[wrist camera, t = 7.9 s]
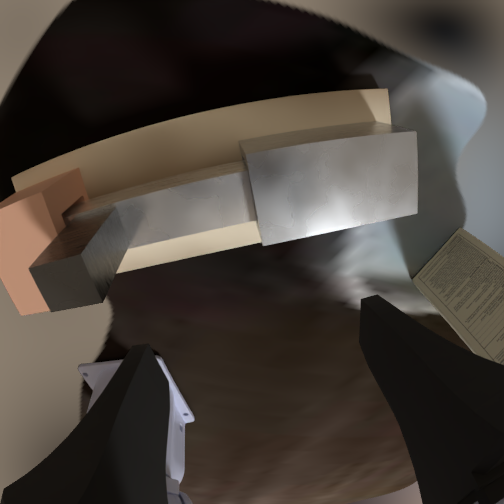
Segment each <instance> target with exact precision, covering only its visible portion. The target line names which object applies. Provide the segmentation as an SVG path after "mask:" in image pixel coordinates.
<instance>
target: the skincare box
mask: <svg viewBox="0 0 504 504" xmlns="http://www.w3.org/2000/svg"><path fill="white" fill-rule="evenodd" d="M412 282H413V283H414V284H415V285H416V287H417V288H418V289H419V290H420V291H421V293H422V294H423V295H424V296H425V297H426V298H427V299H428V301H429V302H430V303H431V304H432V305H433V306H434V307H435V308H436V310H437V311H438V312H439V313H440V314H441V315H442V316H443V318H444V319H445V320H446V321H447V322H448V323H449V324H450V326H451V327H452V328H453V329H454V330H455V331H456V333H457V334H458V335H459V336H460V337H461V339H462V340H463V341H464V342H465V343H466V345H467V346H468V347H469V348H470V349H471V351H472V352H473V353H474V354H476V355H479V356H481V357H483V358H486V359H489V360H491V361H494V362H497V363H500V364H502V365H504V257H503V256H501V255H500V254H498V253H497V252H496V251H494V250H493V249H491V248H490V247H489V246H487V245H486V244H485V243H483V242H482V241H480V240H479V239H477V238H476V237H474V236H472V235H471V234H470V233H468V232H467V231H465V230H464V229H462V228H459V229H458V230H457V231H456V232H455V233H454V234H453V235H452V237H451V238H450V239H449V240H448V241H447V242H446V243H445V244H444V245H443V247H442V248H441V249H440V250H439V251H438V252H437V253H436V254H435V256H434V257H433V258H432V259H431V260H430V261H429V262H428V263H427V264H426V265H425V266H424V267H423V268H422V270H421V271H420V272H419V273H418V274H417V275H416V276H415V277H414V278H413V280H412Z"/></svg>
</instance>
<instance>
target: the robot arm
mask: <svg viewBox="0 0 504 504" xmlns="http://www.w3.org/2000/svg"><path fill="white" fill-rule="evenodd" d="M359 343H360V346H361V348H362V351H363V354H364V356H365V359H366V361H367V364H368V366H369V368H370V370H371V372H372V374H373V376H374V377H375V379H376V381H377V383H378V385H379V387H380V389H381V390H382V392H383V394H384V396H385V398H386V400H387V402H388V403H389V405H390V407H391V409H392V411H393V413H394V415H395V417H396V419H397V421H398V423H399V426H400V429H401V431H402V434H403V437H404V440H405V442H406V445H407V448H408V451H409V454H410V457H411V460H412V463H413V467H414V470H415V474H416V478H417V481H418V485H419V489H420V494H421V498H422V503H423V504H504V365H502V364H500V363H497V362H494V361H491V360H489V359H486V358H483V357H481V356H479V355H476V354H474V353H472V352H470V351H468V350H466V349H464V348H461V347H459V346H457V345H455V344H454V343H452V342H450V341H448V340H446V339H445V338H443V337H441V336H439V335H438V334H436V333H434V332H433V331H431V330H429V329H428V328H426V327H424V326H423V325H421V324H420V323H418V322H417V321H415V320H414V319H412V318H411V317H409V316H408V315H406V314H405V313H403V312H402V311H400V310H399V309H398V308H396V307H395V306H393V305H392V304H390V303H389V302H388V301H386V300H385V299H383V298H382V297H380V296H379V295H374V296H370V297H367V298H363V299H361V313H360V336H359ZM78 370H79V372H80V374H81V375H82V376H83V378H84V379H85V380H86V382H87V383H88V385H89V386H90V387H91V389H92V390H93V393H92V396H91V400H90V404H89V407H88V411H87V414H86V415H85V417H84V418H83V419H82V420H81V422H80V423H79V424H78V425H77V427H76V428H75V429H74V430H73V431H72V432H71V433H70V435H69V436H68V437H67V438H66V439H65V440H64V441H63V442H62V443H61V444H60V445H59V446H58V447H57V448H56V449H55V450H54V451H53V452H52V453H51V454H50V455H49V456H48V457H47V458H45V459H44V460H43V461H42V462H41V463H40V464H38V465H37V466H36V467H35V468H33V469H32V470H31V471H30V472H28V473H27V474H26V475H24V476H23V477H21V478H20V479H18V480H17V481H15V482H14V483H12V484H11V485H9V486H8V487H6V488H4V490H3V494H2V499H1V503H0V504H193V503H192V502H191V500H190V498H189V497H188V496H187V495H186V494H185V493H183V492H179V483H180V482H181V480H182V478H183V475H184V460H185V423H188V422H193V421H194V415H193V414H192V412H191V410H190V409H189V407H188V405H187V403H186V402H185V400H184V398H183V396H182V395H181V393H180V391H179V389H178V387H177V386H176V384H175V382H174V380H173V378H172V377H171V375H170V373H169V371H168V369H167V367H166V365H165V363H164V361H163V360H162V358H161V357H160V356H157V355H154V353H153V351H152V349H151V347H150V345H149V344H143V345H136V346H132V348H131V349H130V350H129V352H128V353H127V355H126V356H125V358H124V359H123V360H114V361H106V362H96V363H87V364H80V365H79V366H78Z"/></svg>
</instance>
